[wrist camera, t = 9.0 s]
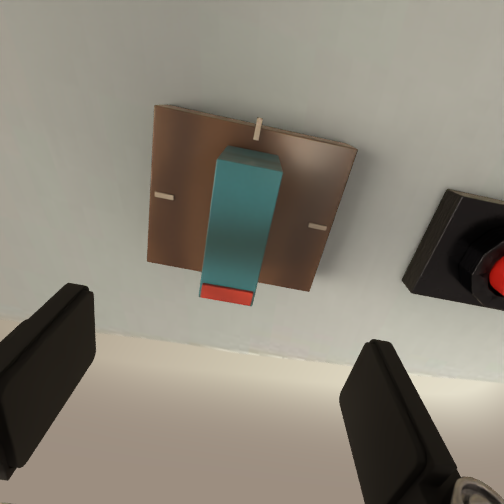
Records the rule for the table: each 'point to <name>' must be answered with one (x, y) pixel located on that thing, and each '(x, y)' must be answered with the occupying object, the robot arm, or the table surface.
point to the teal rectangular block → (239, 223)
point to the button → (497, 276)
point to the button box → (460, 251)
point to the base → (201, 186)
